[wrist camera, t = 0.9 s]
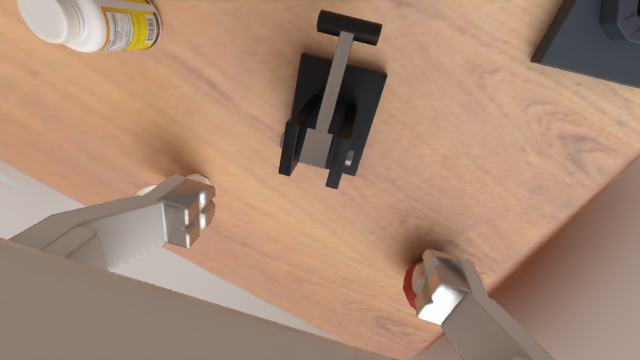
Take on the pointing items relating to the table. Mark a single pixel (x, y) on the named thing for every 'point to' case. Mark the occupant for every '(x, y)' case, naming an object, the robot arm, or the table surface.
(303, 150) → the lever
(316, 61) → the bracket
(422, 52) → the table surface
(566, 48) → the block
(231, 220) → the table surface
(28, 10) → the supplement bottle
